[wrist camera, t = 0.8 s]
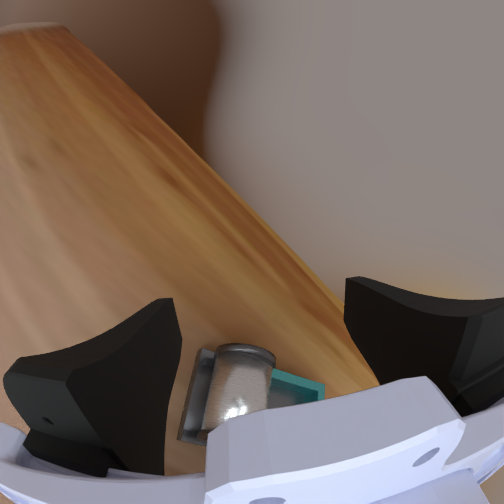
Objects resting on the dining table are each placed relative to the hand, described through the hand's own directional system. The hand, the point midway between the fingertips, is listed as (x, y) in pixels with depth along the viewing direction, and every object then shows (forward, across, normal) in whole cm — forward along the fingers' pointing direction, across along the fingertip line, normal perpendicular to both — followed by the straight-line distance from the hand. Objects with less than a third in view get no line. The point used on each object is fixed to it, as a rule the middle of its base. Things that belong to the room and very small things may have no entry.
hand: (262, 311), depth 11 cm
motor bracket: (+9, +1, +16) cm, 19 cm away
